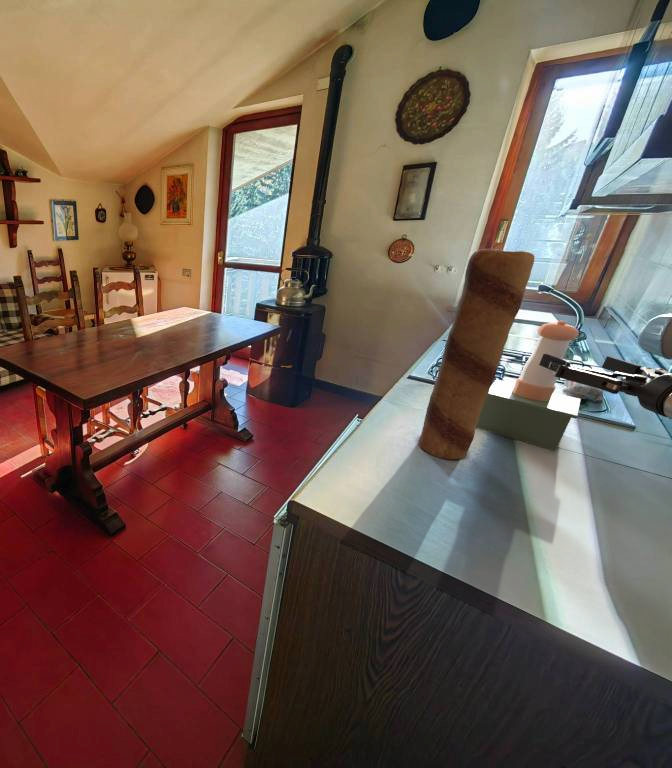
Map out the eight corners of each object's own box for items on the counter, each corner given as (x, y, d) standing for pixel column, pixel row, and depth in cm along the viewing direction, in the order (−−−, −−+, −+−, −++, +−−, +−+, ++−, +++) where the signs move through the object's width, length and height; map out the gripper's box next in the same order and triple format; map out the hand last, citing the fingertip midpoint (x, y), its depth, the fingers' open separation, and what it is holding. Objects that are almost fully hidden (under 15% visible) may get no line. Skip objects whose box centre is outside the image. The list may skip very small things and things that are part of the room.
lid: (579, 401, 97) (580, 398, 97) (576, 418, 88) (577, 415, 88) (495, 382, 109) (496, 379, 108) (484, 395, 100) (485, 392, 99)
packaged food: (559, 397, 122) (566, 383, 120) (561, 387, 129) (568, 374, 127) (599, 407, 116) (607, 392, 114) (599, 396, 123) (606, 382, 122)
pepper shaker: (551, 395, 98) (584, 321, 91) (549, 404, 94) (584, 326, 86) (513, 387, 103) (542, 316, 96) (510, 394, 98) (540, 320, 91)
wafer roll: (408, 434, 99) (464, 247, 81) (456, 441, 96) (525, 249, 78) (420, 455, 90) (486, 250, 72) (473, 464, 87) (556, 252, 69)
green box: (560, 431, 101) (575, 400, 98) (555, 451, 92) (571, 417, 89) (484, 411, 112) (495, 382, 109) (473, 426, 103) (484, 395, 100)
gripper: (600, 415, 71) (510, 373, 90) (747, 422, 69) (624, 378, 89) (619, 377, 68) (523, 342, 87) (774, 383, 66) (640, 346, 86)
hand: (574, 360), depth 88 cm, fingers open, 13 cm apart
